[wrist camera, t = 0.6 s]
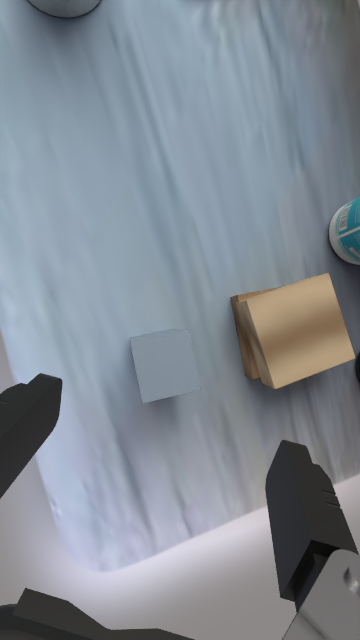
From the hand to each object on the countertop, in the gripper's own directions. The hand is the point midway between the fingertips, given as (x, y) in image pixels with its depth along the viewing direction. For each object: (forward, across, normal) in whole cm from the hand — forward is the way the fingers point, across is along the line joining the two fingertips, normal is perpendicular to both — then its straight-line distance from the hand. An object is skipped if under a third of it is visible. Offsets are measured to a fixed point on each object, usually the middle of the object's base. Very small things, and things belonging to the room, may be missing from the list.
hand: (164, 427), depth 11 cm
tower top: (+24, -10, +3) cm, 26 cm away
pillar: (+22, +3, +8) cm, 24 cm away
